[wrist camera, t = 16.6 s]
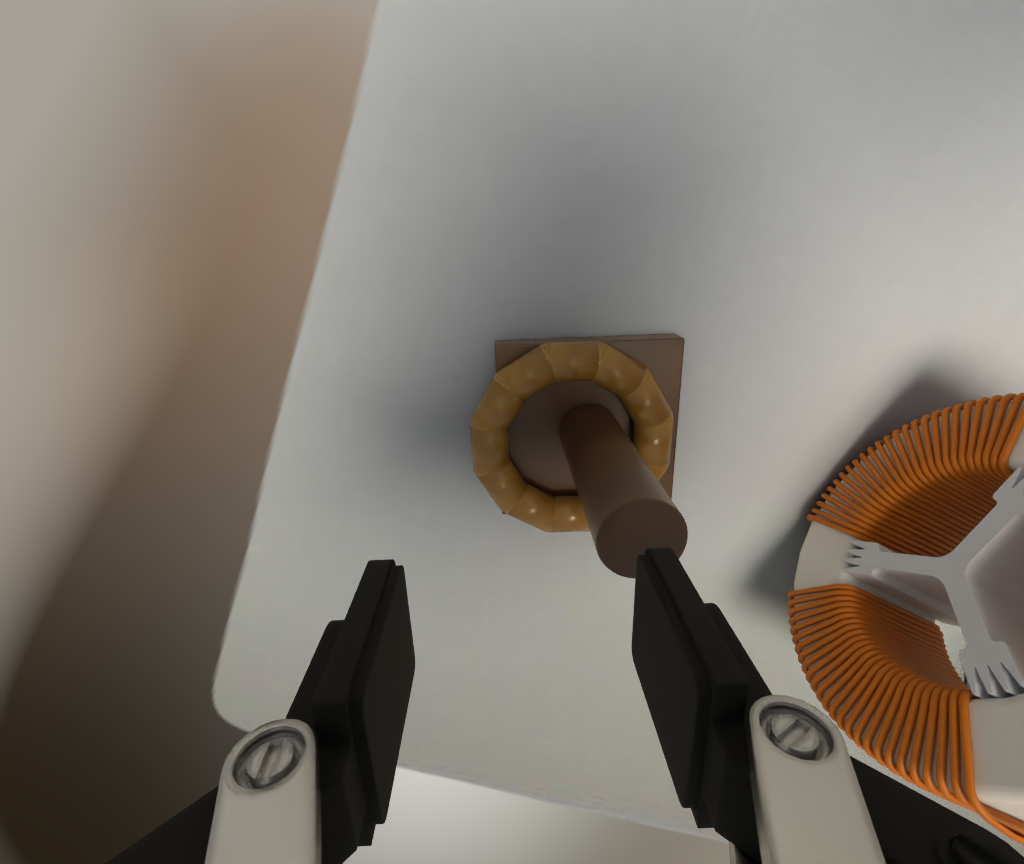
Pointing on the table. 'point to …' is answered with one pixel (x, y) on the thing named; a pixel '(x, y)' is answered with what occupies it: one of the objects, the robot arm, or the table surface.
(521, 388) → the ring
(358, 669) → the robot arm
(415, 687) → the table surface
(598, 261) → the table surface
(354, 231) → the table surface
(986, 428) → the coil
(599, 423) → the post stand
